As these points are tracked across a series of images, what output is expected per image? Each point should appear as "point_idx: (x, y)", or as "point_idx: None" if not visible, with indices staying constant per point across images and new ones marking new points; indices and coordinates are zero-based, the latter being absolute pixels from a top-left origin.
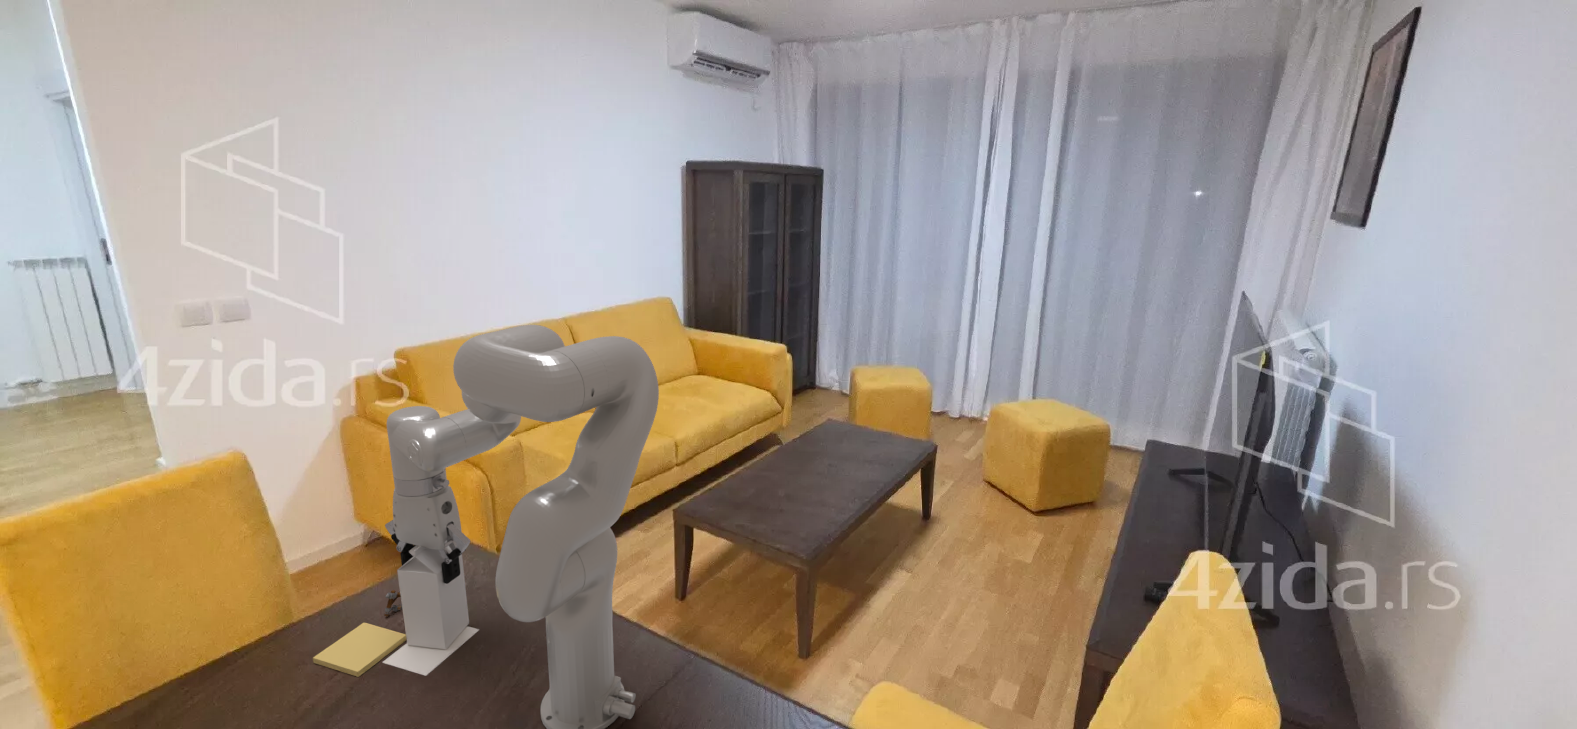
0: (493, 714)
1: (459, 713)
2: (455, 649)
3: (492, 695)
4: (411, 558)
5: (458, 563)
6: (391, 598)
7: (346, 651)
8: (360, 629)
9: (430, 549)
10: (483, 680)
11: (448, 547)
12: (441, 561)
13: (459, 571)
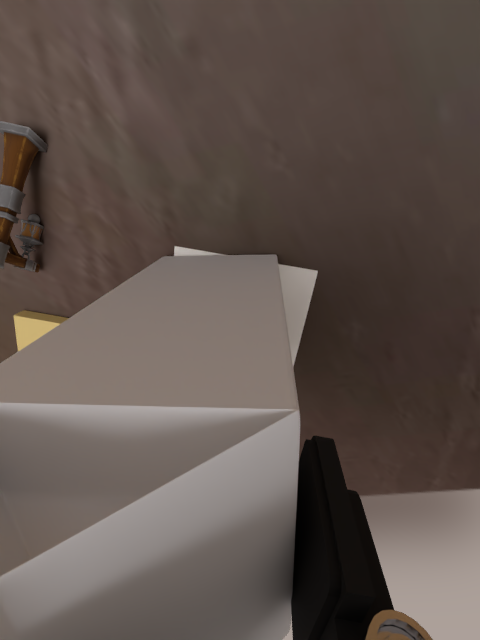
0: (465, 486)
1: (397, 488)
2: (296, 349)
3: (446, 451)
4: None
5: (379, 567)
6: (4, 261)
7: None
8: (32, 340)
9: None
10: (410, 420)
11: (206, 525)
12: (257, 602)
13: (359, 498)
